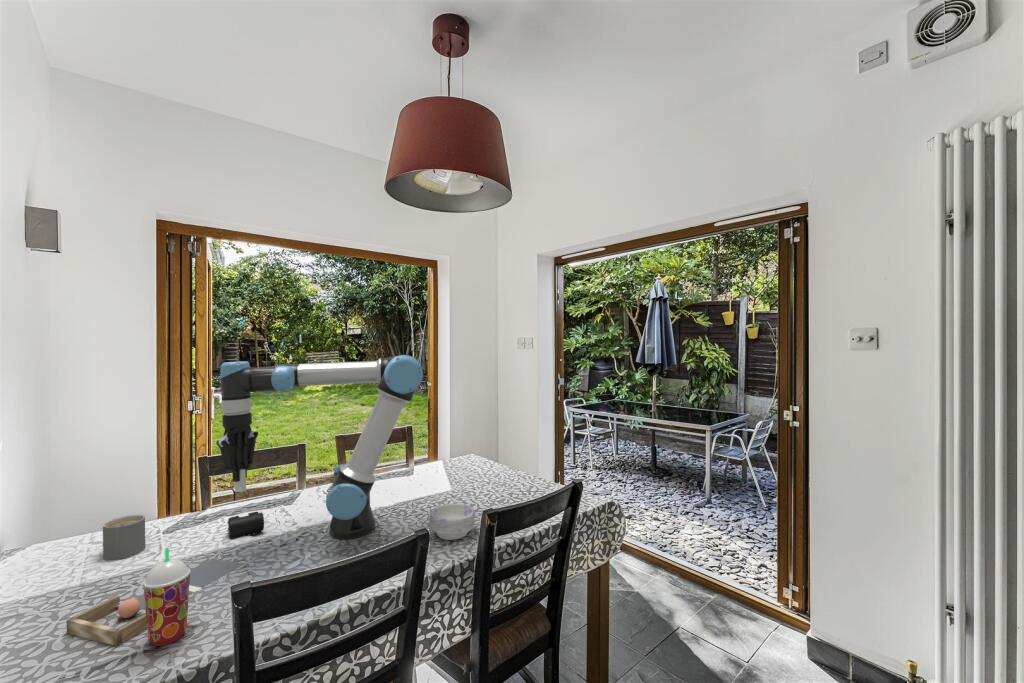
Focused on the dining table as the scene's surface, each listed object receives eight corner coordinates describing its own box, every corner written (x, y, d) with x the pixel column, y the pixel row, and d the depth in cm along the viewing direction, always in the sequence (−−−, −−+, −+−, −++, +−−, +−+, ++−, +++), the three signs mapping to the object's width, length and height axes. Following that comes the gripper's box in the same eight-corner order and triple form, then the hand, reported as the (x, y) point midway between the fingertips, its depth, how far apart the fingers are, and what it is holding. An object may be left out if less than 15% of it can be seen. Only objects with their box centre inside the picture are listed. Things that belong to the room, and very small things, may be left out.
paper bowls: (484, 533, 150) (484, 510, 150) (449, 549, 139) (448, 524, 139) (455, 521, 160) (455, 499, 160) (420, 534, 149) (420, 511, 149)
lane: (244, 567, 129) (244, 563, 129) (158, 616, 106) (158, 612, 106) (212, 561, 132) (212, 558, 132) (122, 608, 109) (122, 604, 109)
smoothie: (161, 626, 102) (160, 540, 102) (199, 624, 103) (198, 538, 103) (133, 652, 94) (132, 558, 94) (175, 649, 94) (174, 556, 94)
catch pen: (164, 618, 105) (164, 605, 105) (116, 646, 96) (116, 632, 96) (116, 607, 110) (116, 595, 110) (66, 633, 100) (66, 620, 100)
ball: (122, 619, 103) (138, 618, 106) (131, 600, 105) (147, 599, 108) (110, 616, 104) (126, 615, 107) (119, 597, 106) (135, 597, 109)
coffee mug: (147, 552, 139) (147, 520, 139) (104, 564, 131) (104, 530, 131) (141, 539, 148) (140, 509, 148) (100, 549, 141) (100, 518, 141)
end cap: (229, 543, 144) (229, 522, 144) (226, 536, 150) (226, 516, 150) (264, 534, 151) (264, 514, 151) (260, 528, 156) (259, 508, 156)
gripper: (244, 409, 140) (248, 483, 140) (207, 416, 127) (210, 498, 127) (264, 409, 138) (267, 484, 138) (228, 417, 125) (232, 499, 126)
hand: (240, 490), depth 133 cm, fingers closed
